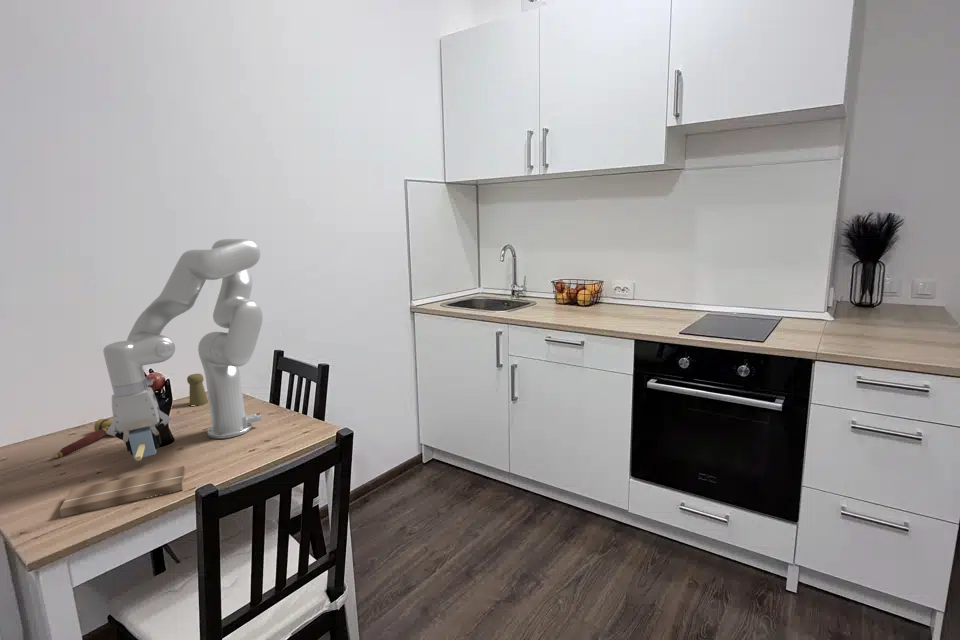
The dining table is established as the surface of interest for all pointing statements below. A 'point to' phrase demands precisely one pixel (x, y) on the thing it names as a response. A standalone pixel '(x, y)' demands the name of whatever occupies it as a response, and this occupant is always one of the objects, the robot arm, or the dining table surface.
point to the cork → (197, 390)
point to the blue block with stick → (142, 443)
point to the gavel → (87, 437)
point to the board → (122, 491)
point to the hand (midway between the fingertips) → (145, 449)
